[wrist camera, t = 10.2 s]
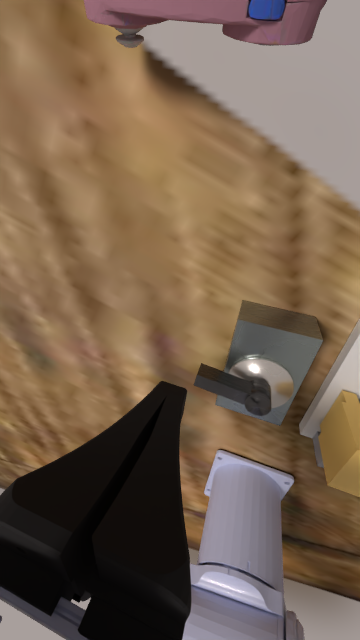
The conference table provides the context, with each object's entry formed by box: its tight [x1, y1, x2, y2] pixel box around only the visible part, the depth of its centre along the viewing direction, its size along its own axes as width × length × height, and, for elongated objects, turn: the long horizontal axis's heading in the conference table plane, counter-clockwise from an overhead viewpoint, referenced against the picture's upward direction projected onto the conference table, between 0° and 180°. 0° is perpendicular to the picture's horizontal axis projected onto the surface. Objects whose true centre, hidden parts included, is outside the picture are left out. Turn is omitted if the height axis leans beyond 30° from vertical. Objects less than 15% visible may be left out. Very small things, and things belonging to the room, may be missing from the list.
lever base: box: [215, 300, 323, 426], centre depth 18 cm, size 8×5×3 cm, turn 174°
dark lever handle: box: [194, 363, 271, 416], centre depth 16 cm, size 5×2×2 cm, turn 78°
